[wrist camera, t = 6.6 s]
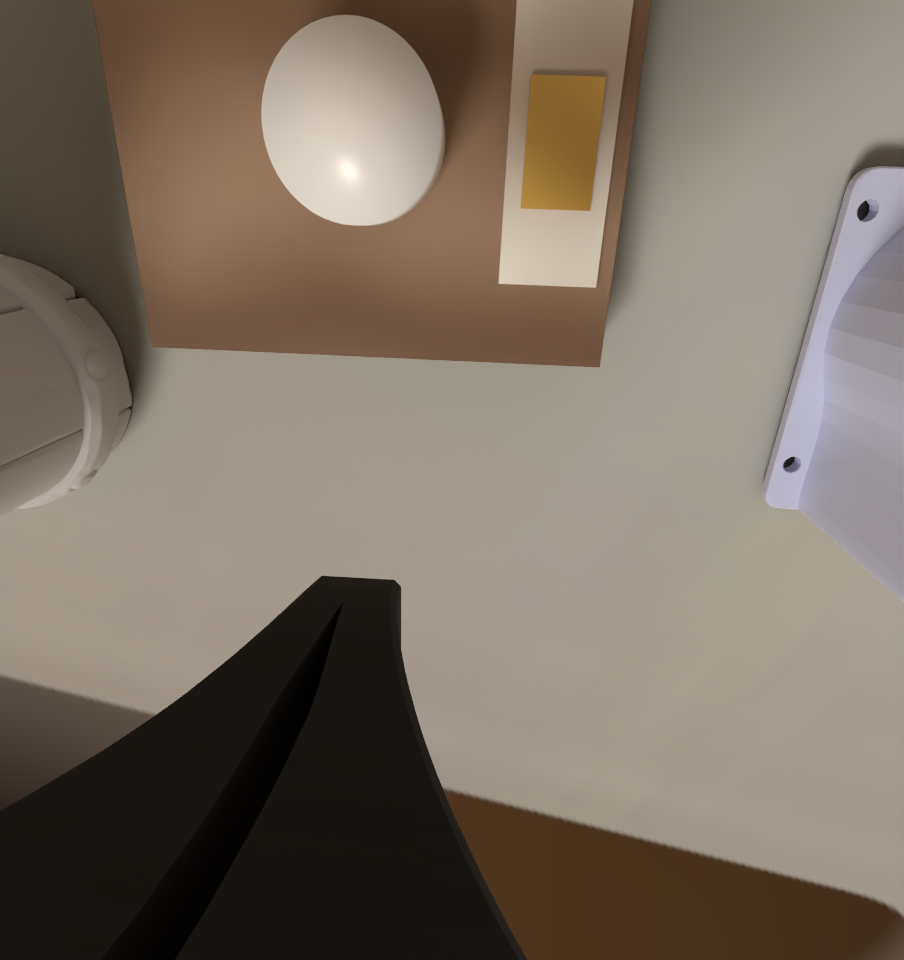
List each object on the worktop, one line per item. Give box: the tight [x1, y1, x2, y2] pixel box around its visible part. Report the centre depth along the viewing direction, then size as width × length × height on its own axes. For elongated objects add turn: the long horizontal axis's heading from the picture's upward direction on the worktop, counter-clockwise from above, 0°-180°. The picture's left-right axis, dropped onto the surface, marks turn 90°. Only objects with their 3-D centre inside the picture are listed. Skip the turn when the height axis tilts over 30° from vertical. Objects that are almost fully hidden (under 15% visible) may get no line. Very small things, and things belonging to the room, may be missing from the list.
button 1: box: [261, 15, 446, 226], centre depth 12 cm, size 4×4×2 cm
